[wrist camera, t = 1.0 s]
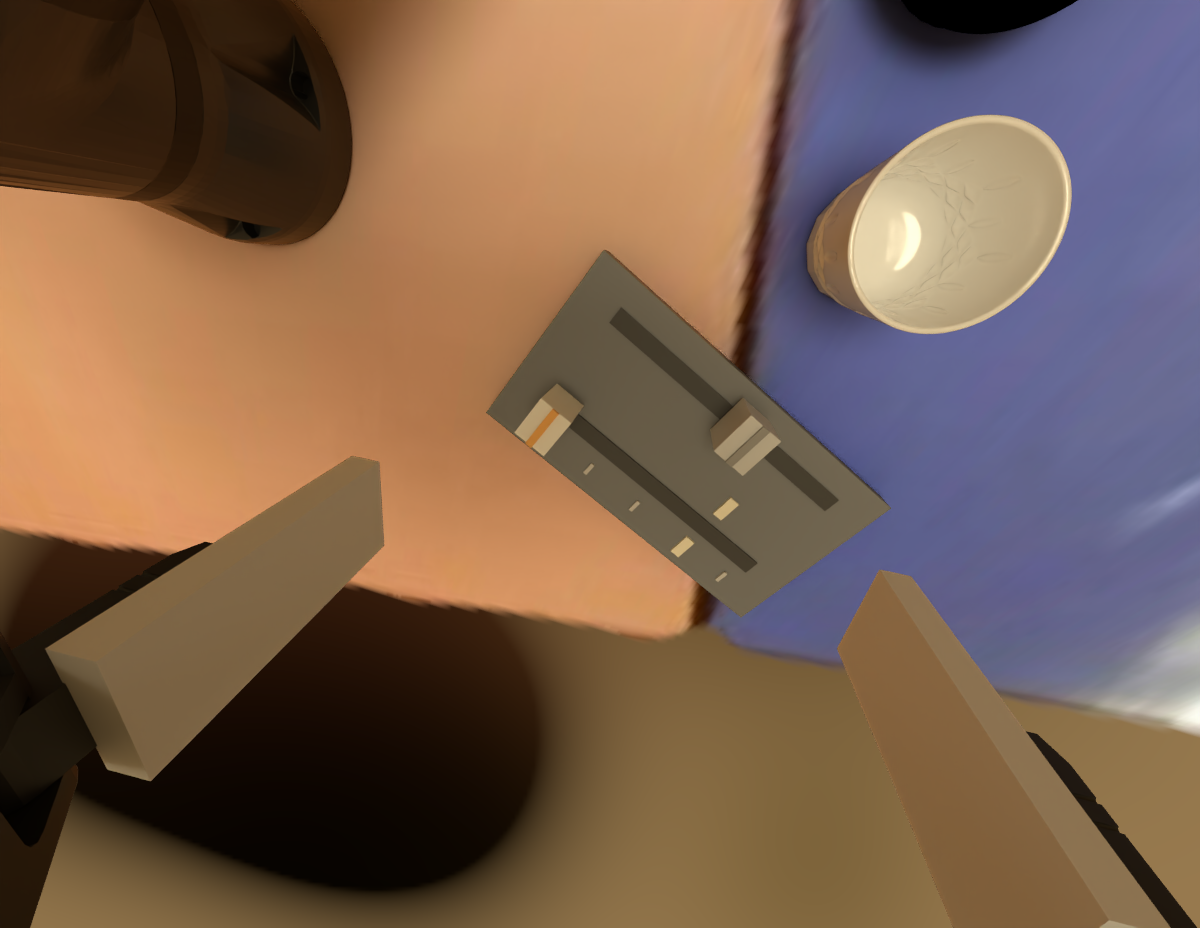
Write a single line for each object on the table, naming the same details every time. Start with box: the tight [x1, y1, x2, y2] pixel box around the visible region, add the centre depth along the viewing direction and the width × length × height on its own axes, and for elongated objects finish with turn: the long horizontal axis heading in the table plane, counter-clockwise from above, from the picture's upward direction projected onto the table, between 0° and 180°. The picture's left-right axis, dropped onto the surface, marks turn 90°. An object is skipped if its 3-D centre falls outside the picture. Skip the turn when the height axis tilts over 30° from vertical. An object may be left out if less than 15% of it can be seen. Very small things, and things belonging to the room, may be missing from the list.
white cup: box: [807, 115, 1072, 334], centre depth 23 cm, size 8×8×10 cm
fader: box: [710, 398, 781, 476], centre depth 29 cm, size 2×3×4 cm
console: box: [486, 250, 891, 617], centre depth 33 cm, size 26×14×2 cm, turn 51°
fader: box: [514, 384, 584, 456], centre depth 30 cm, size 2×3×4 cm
